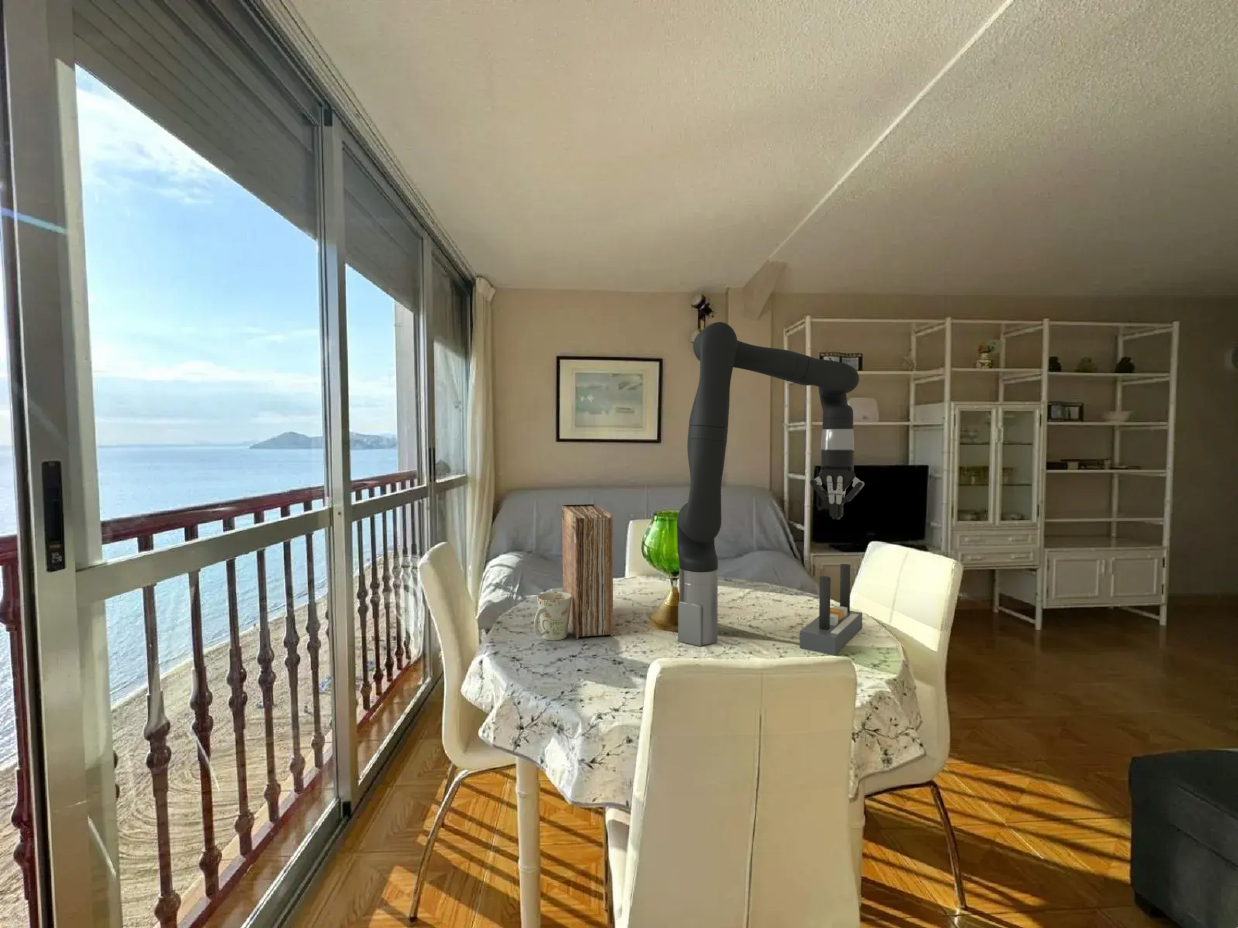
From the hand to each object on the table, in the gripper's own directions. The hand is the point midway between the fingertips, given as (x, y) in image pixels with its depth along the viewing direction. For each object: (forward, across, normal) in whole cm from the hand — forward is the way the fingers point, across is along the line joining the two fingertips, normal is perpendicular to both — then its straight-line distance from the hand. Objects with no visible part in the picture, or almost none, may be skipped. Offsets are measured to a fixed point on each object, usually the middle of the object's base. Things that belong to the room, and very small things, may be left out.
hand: (836, 518), depth 145 cm
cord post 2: (+25, 0, +8) cm, 26 cm away
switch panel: (+29, 0, -2) cm, 29 cm away
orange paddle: (+24, 0, 0) cm, 24 cm away
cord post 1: (+25, 0, -8) cm, 26 cm away
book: (+29, -56, -28) cm, 69 cm away
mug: (+29, -55, -43) cm, 76 cm away
